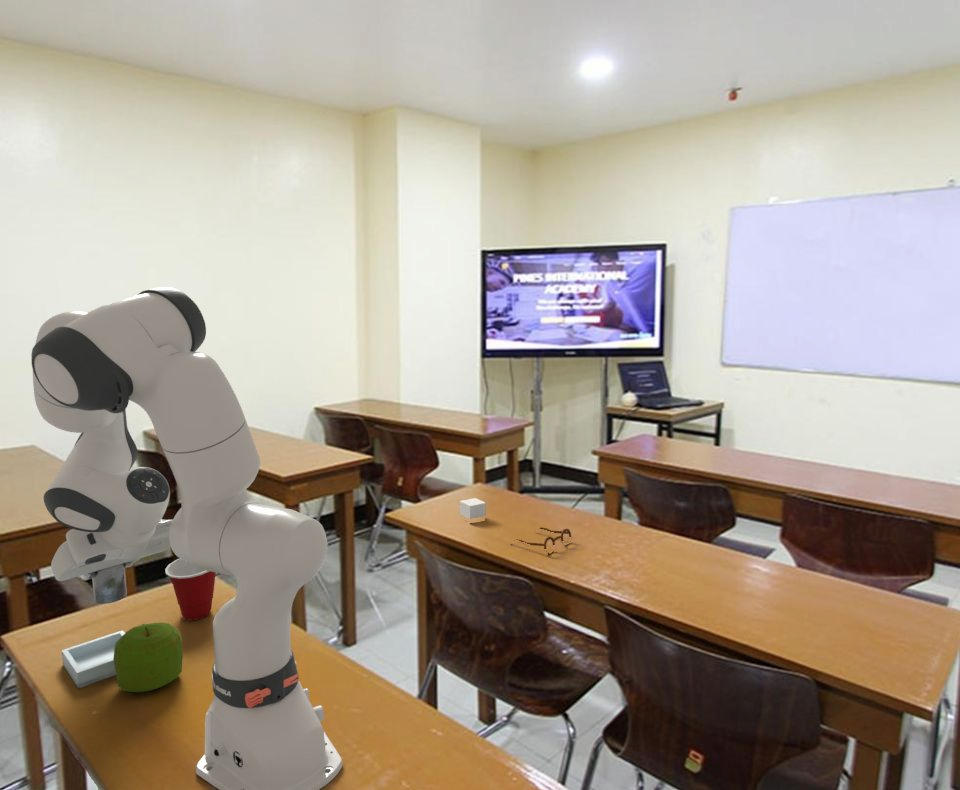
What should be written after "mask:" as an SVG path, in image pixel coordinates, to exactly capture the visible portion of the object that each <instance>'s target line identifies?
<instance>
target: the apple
mask: <svg viewBox="0 0 960 790" xmlns="http://www.w3.org/2000/svg"><path fill="white" fill-rule="evenodd" d="M113 659H114V664H115V670H116V675H115V676H116V681H117V687H118V688H119V689H121V691H122V692H123V691H124V692H129V693H130V692H131V693H146V692H150V691H155V690H157V689H159V688H162V687H164V686H166V685H168V684H169V683H171V682H172V681H174V680H176V679H178V677H179V676H180V674H182V673H181V672H182V670H183V669H182V668H183V637H182V634H181V632H180V631H179V629H178V628H176V627H175V626H174V625H172V624H170V623H167V622H151V623H145V624H140V625H137V626H133V627H132V628H131V629H128V630H127V631H126V632H125V634H124V635H123V636H122V637H121V638H120V639H119V640H118V641H117V642H116V645H115V649H114V658H113Z"/></svg>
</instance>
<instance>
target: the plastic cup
mask: <svg viewBox="0 0 960 790" xmlns="http://www.w3.org/2000/svg"><path fill="white" fill-rule="evenodd" d="M164 570H165V575H166V576H168V578H169V580H170V581H171V584H172V587H173V590H174V593H175V596H176V600H177V604H178V606H179V610H180V614H181V616H182V619H184V620H186V621H197V620H201V619H204V618H206V617H208V616H209V615H210V613H211V612H212V611H211V610H212V605H213V598H214V591H215V583H216V576H217V575H216V574H217V573H215V572H211V571H206V570H202V569H199V568H197V567H195V566H193V565H191V564H190V563H188V562H186V561H184V560H183V559H181V558H177V559H175V560H174V561H172V562H171V563H169V564H168V565H167V566H166V568H165V569H164Z"/></svg>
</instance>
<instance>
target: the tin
mask: <svg viewBox="0 0 960 790" xmlns="http://www.w3.org/2000/svg"><path fill="white" fill-rule="evenodd" d="M91 580H92V591H93V601H94V603H96V604H100V605H104V604H112V603H115V602H116V603H117V602H119V601H121V600H123V599H125V598H126V597H127V596H128V592H127V580H126V568H125V566H124V563H122V564H119V565H115V566H112V567H109V568H105V569H102V570H98V571H95V576H94V578H91Z"/></svg>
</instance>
